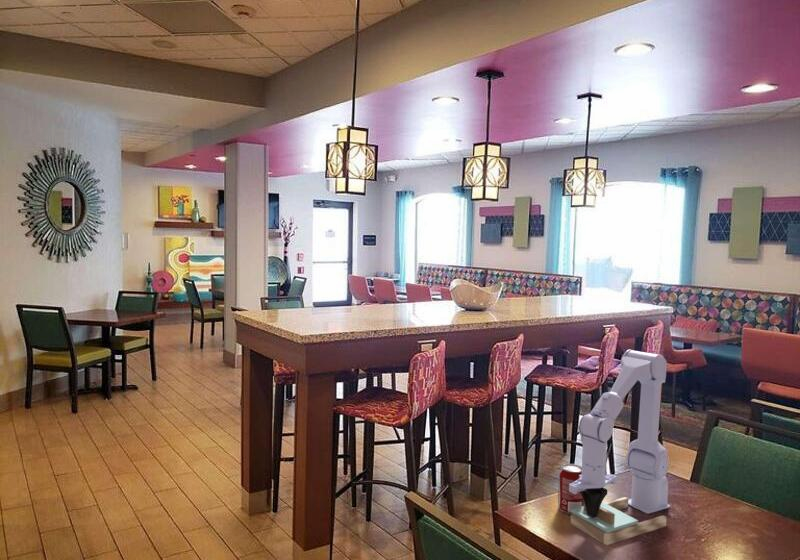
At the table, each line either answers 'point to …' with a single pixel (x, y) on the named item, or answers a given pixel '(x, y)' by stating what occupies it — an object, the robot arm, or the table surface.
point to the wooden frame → (621, 533)
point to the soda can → (565, 497)
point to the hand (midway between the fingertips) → (591, 515)
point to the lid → (606, 518)
